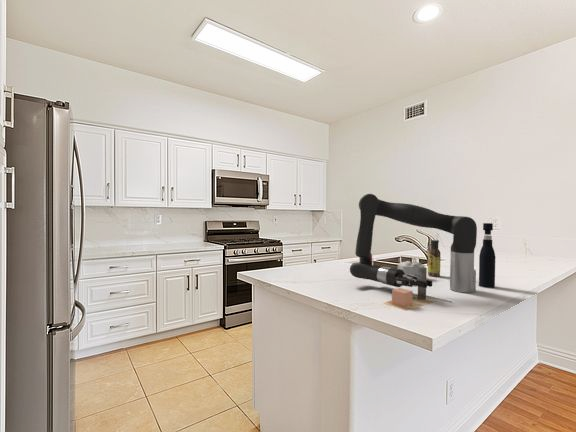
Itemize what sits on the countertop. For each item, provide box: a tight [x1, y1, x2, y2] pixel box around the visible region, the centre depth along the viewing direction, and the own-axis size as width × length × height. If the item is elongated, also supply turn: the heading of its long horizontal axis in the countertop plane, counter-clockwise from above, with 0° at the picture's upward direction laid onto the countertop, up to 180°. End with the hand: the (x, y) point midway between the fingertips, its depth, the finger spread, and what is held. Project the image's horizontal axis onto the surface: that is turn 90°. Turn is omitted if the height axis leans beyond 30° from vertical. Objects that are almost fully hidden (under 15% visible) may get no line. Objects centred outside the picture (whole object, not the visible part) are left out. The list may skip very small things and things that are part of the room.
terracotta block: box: [391, 287, 413, 307], centre depth 111 cm, size 5×5×5 cm
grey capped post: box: [382, 266, 437, 311], centre depth 114 cm, size 20×10×13 cm, turn 126°
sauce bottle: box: [427, 239, 442, 278], centre depth 167 cm, size 6×6×20 cm
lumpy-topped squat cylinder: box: [397, 260, 426, 276], centre depth 161 cm, size 10×13×9 cm
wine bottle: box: [478, 222, 496, 289], centre depth 145 cm, size 6×6×30 cm
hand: (429, 284), depth 116 cm, fingers closed on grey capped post, 3 cm apart
